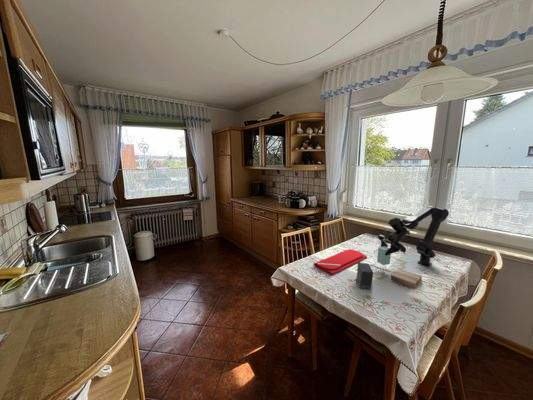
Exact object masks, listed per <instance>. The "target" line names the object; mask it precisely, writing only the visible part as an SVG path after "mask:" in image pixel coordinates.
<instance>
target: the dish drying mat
mask: <svg viewBox="0 0 533 400" xmlns="http://www.w3.org/2000/svg"><path fill="white" fill-rule="evenodd" d="M367 258H368V256H367V255H366V254H363V253H362V252H361V251H358V250H354V249H350V248H349V249H345V250H343V251H341V252H337V253H336V254H334V255H331V256H328V257H326V258H323V259H321V260H319V261H316V262H314V263H313V266H314V267H315V268H316V269H317V270H319V271H321V272H324V273H325V274H328V275H330V276H334V275H336V274H338V273H341V272H343V271H344V270H347V269H348V268H349V269H350V267H353V266H354V265H356V264H358V263H361V262H362V261H363V260H365V259H367Z"/></svg>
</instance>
